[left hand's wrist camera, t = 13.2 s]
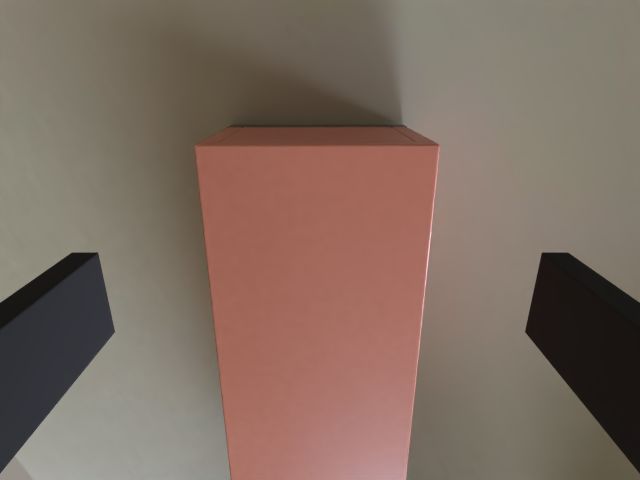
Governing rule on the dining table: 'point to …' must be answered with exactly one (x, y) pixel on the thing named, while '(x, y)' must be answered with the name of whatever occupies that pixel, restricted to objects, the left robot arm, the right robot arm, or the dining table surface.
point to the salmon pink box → (317, 293)
